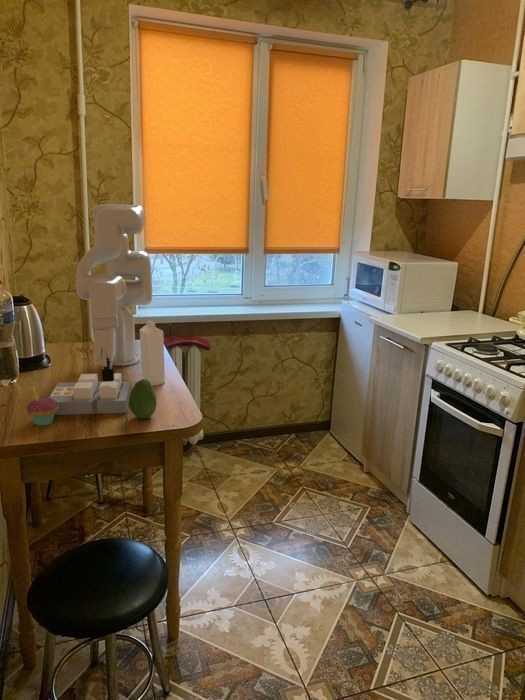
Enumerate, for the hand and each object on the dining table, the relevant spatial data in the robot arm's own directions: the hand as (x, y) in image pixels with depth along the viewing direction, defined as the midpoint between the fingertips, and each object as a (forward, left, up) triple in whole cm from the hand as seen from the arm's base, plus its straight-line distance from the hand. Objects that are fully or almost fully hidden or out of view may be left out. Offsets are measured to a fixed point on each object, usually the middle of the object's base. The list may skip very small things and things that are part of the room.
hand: (108, 380), depth 161 cm
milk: (-21, +12, -9) cm, 26 cm away
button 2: (0, -8, -6) cm, 10 cm away
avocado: (+8, +11, -9) cm, 16 cm away
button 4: (0, 0, -6) cm, 6 cm away
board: (-4, -6, -9) cm, 12 cm away
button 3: (-8, 0, -6) cm, 10 cm away
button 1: (-8, -8, -6) cm, 13 cm away
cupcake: (+9, -17, -9) cm, 22 cm away
